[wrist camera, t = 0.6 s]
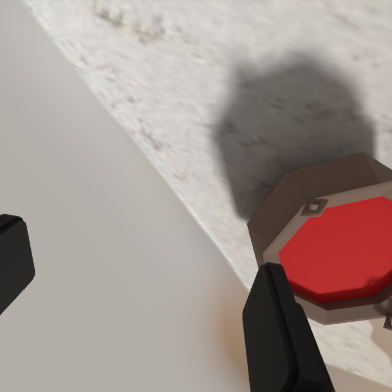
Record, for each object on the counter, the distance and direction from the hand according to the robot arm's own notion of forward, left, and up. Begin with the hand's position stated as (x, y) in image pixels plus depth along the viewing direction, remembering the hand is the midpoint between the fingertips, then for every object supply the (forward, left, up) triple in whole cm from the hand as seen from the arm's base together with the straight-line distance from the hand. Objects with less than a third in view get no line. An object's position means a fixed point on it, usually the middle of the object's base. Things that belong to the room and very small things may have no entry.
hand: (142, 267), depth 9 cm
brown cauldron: (-10, +22, -30) cm, 38 cm away
